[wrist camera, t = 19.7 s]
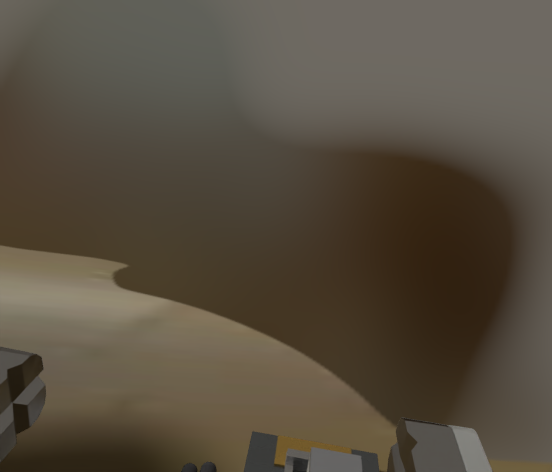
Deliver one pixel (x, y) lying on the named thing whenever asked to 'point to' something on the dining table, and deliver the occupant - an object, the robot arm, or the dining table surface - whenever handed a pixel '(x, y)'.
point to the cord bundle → (207, 468)
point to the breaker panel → (293, 454)
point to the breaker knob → (333, 461)
